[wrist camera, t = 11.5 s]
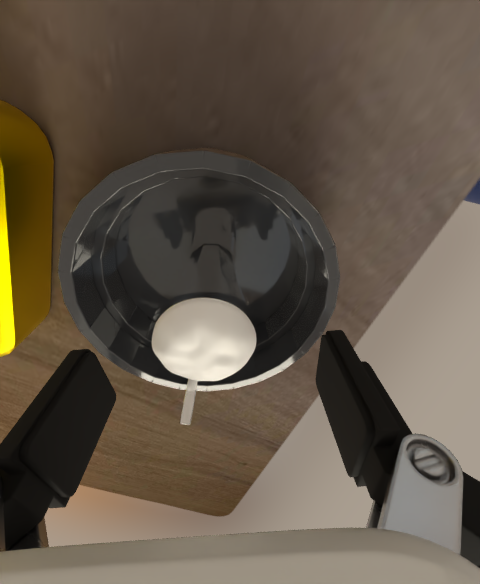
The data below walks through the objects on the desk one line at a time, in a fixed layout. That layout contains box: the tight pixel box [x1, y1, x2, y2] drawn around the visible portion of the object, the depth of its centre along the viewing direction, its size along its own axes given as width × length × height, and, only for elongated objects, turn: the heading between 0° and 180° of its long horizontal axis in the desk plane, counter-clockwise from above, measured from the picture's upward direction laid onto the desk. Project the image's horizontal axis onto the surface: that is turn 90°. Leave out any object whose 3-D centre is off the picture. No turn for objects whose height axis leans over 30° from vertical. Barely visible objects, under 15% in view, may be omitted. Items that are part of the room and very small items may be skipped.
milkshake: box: [152, 245, 256, 425], centre depth 14 cm, size 5×5×10 cm
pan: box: [58, 147, 340, 391], centre depth 16 cm, size 15×15×5 cm
